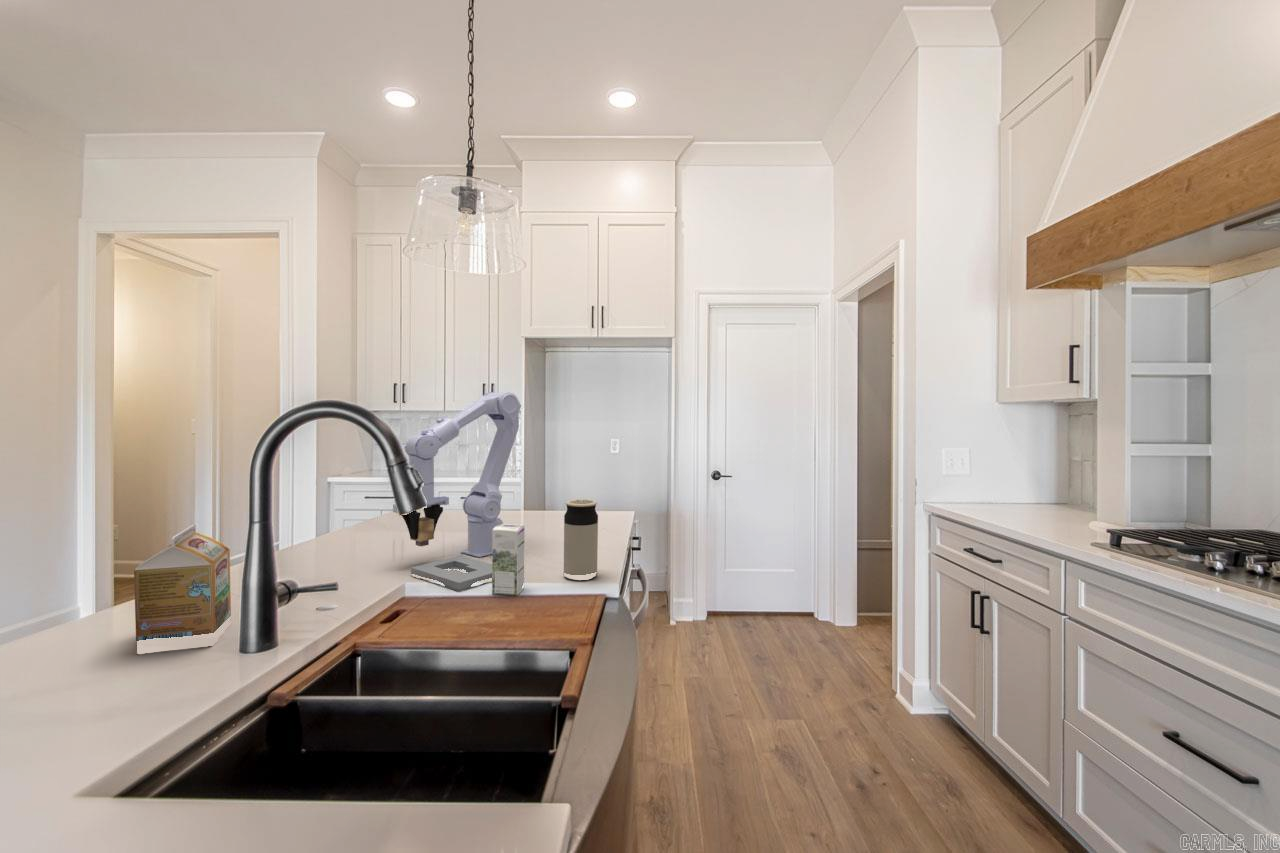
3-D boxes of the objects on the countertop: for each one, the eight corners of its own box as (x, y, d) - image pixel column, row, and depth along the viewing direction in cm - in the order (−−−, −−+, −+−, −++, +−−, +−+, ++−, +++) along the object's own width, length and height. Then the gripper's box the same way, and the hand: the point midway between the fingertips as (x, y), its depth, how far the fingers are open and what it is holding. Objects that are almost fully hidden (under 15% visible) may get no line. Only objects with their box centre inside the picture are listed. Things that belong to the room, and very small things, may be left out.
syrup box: (525, 587, 135) (525, 523, 134) (517, 596, 129) (517, 529, 128) (500, 586, 135) (500, 522, 135) (491, 595, 130) (491, 528, 129)
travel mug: (601, 579, 142) (602, 503, 141) (568, 583, 139) (569, 505, 138) (591, 570, 149) (592, 498, 148) (560, 573, 146) (560, 499, 145)
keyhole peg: (424, 542, 154) (424, 516, 153) (433, 544, 151) (433, 519, 151) (410, 545, 150) (410, 519, 150) (419, 547, 148) (419, 521, 148)
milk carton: (161, 630, 108) (159, 526, 107) (231, 624, 111) (229, 522, 110) (136, 655, 98) (133, 539, 97) (213, 646, 102) (210, 535, 101)
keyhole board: (460, 563, 153) (460, 555, 153) (508, 576, 143) (508, 568, 142) (410, 575, 142) (410, 567, 142) (458, 591, 131) (458, 582, 131)
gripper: (437, 478, 158) (437, 529, 159) (385, 484, 146) (386, 539, 147) (453, 481, 154) (454, 533, 155) (402, 487, 142) (402, 544, 143)
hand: (422, 536), depth 151 cm, fingers closed on keyhole peg, 4 cm apart
